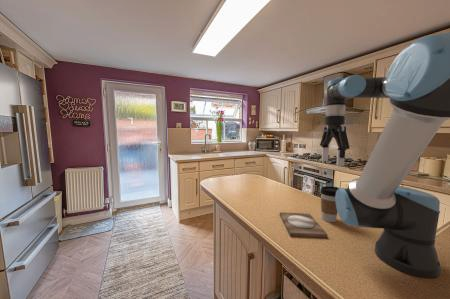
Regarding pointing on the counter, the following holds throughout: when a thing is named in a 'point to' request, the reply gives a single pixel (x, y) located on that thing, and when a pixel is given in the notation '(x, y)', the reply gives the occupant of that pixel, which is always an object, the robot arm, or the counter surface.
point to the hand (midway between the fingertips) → (331, 163)
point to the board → (302, 225)
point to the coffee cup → (328, 203)
